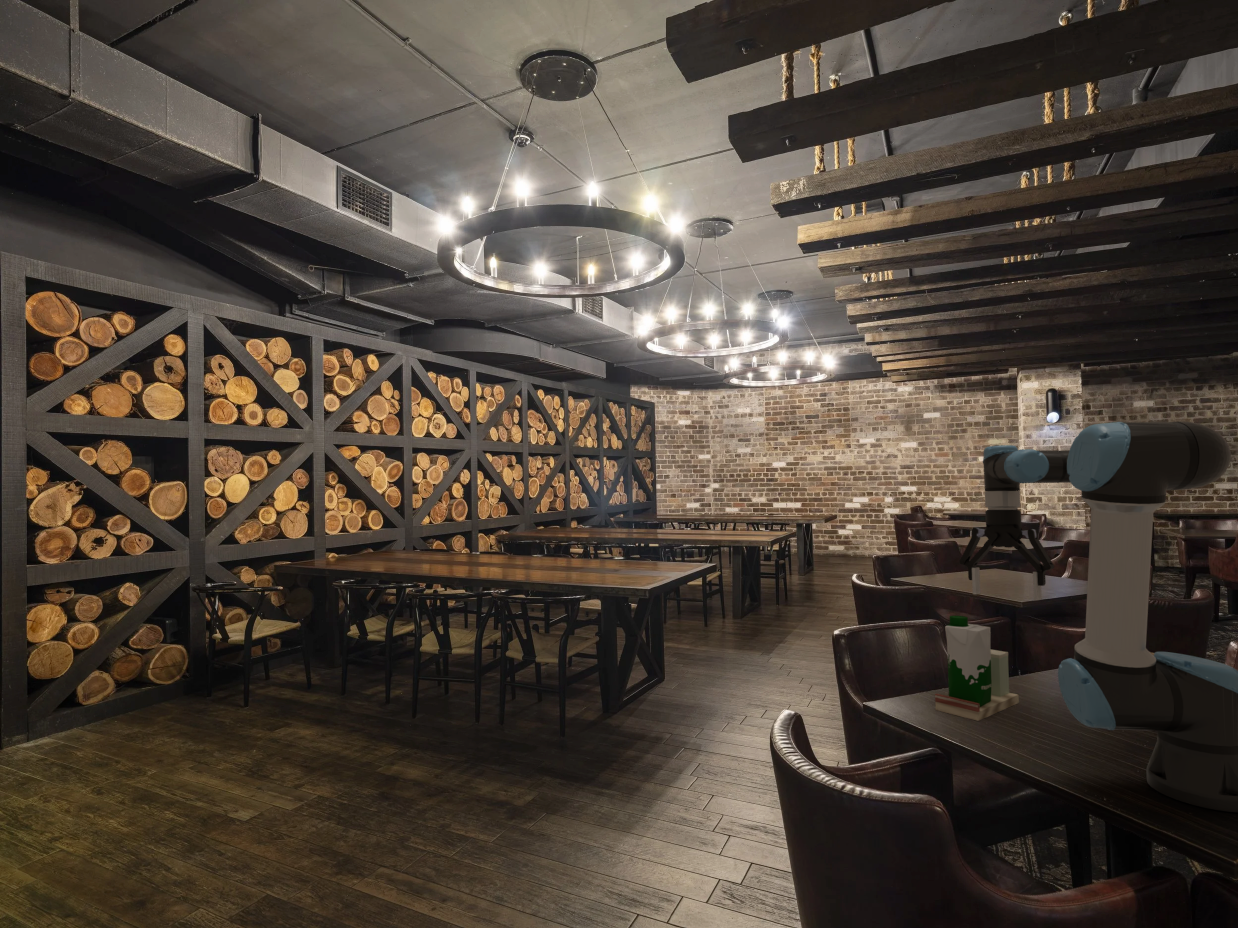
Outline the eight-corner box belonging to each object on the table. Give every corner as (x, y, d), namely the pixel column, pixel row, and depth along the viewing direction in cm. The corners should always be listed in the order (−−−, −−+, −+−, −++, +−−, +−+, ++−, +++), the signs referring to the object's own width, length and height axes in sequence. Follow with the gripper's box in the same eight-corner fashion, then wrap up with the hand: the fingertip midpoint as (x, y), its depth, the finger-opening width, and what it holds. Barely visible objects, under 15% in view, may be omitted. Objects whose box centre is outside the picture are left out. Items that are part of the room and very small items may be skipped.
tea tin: (1000, 696, 164) (999, 655, 164) (975, 691, 169) (973, 650, 169) (1009, 693, 167) (1008, 652, 167) (984, 687, 172) (982, 647, 172)
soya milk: (958, 693, 167) (955, 613, 168) (997, 701, 160) (994, 618, 161) (943, 700, 161) (941, 617, 162) (983, 709, 154) (980, 622, 155)
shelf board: (978, 720, 152) (977, 704, 152) (935, 709, 160) (935, 693, 160) (1018, 702, 166) (1018, 687, 166) (977, 693, 173) (977, 678, 174)
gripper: (1067, 508, 154) (1071, 600, 153) (956, 508, 173) (959, 590, 172) (1056, 508, 149) (1060, 603, 148) (943, 508, 169) (946, 592, 167)
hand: (1006, 596), depth 160 cm, fingers open, 13 cm apart
